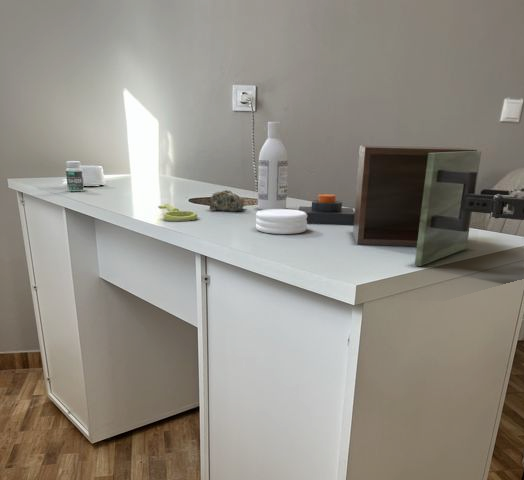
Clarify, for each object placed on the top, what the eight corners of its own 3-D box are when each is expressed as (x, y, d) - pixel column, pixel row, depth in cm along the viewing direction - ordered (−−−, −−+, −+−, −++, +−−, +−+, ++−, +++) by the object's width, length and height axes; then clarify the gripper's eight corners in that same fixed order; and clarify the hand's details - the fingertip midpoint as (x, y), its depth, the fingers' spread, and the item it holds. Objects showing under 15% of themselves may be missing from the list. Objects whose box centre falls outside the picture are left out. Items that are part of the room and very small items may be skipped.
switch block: (351, 217, 127) (353, 199, 125) (354, 224, 117) (356, 205, 116) (299, 216, 128) (299, 198, 126) (297, 222, 118) (298, 203, 117)
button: (334, 202, 123) (335, 194, 122) (335, 204, 119) (335, 196, 119) (318, 202, 123) (318, 194, 122) (318, 204, 120) (319, 195, 119)
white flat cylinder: (317, 231, 108) (318, 213, 107) (277, 236, 103) (277, 217, 101) (284, 224, 116) (285, 207, 114) (245, 228, 110) (245, 210, 109)
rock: (215, 207, 139) (215, 188, 137) (246, 208, 138) (246, 189, 136) (208, 211, 132) (208, 191, 131) (240, 212, 131) (240, 192, 130)
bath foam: (286, 207, 140) (289, 122, 133) (285, 211, 134) (289, 122, 127) (258, 207, 141) (260, 121, 133) (257, 210, 134) (258, 121, 127)
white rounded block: (111, 185, 183) (110, 166, 181) (87, 187, 176) (85, 167, 174) (88, 183, 190) (86, 164, 187) (64, 185, 182) (61, 165, 180)
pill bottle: (66, 191, 164) (63, 161, 161) (68, 190, 169) (65, 160, 165) (83, 191, 165) (80, 162, 162) (85, 190, 169) (82, 161, 166)
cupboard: (462, 248, 96) (477, 149, 90) (357, 244, 97) (365, 147, 91) (447, 235, 107) (459, 147, 101) (352, 232, 108) (359, 145, 102)
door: (498, 253, 92) (516, 152, 86) (455, 272, 79) (473, 154, 73) (460, 247, 95) (475, 150, 89) (414, 264, 82) (428, 152, 77)
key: (167, 212, 128) (167, 203, 127) (201, 219, 120) (201, 209, 119) (141, 215, 123) (140, 205, 123) (174, 222, 115) (174, 212, 115)
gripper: (591, 249, 64) (451, 233, 73) (604, 233, 75) (481, 220, 84) (608, 182, 61) (460, 173, 70) (619, 175, 72) (490, 168, 81)
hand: (472, 199), depth 77 cm, fingers open, 8 cm apart
